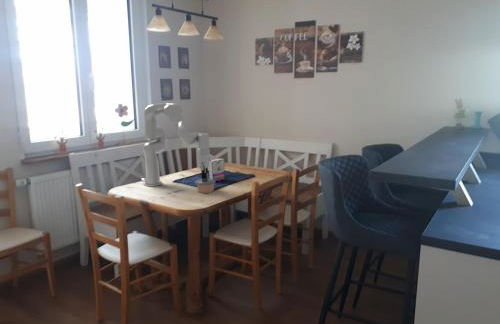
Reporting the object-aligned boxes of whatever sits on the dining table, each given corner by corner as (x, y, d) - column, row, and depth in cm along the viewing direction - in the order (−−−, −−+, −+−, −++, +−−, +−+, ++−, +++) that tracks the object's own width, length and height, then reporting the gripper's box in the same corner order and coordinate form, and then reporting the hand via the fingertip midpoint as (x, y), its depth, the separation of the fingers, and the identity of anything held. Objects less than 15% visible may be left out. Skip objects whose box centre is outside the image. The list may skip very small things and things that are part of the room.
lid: (192, 184, 267) (192, 174, 266) (198, 179, 281) (197, 170, 280) (212, 185, 265) (212, 175, 264) (217, 179, 279) (217, 170, 278)
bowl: (195, 192, 270) (195, 184, 269) (200, 188, 281) (199, 180, 279) (211, 193, 268) (211, 184, 267) (215, 188, 279) (214, 180, 278)
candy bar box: (221, 178, 306) (220, 158, 302) (225, 180, 302) (224, 159, 298) (209, 181, 299) (208, 160, 295) (212, 182, 295) (212, 161, 291)
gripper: (201, 149, 277) (202, 174, 281) (195, 153, 261) (196, 180, 265) (212, 149, 276) (213, 174, 280) (206, 153, 260) (207, 180, 264)
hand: (205, 177), depth 272 cm, fingers open, 5 cm apart
